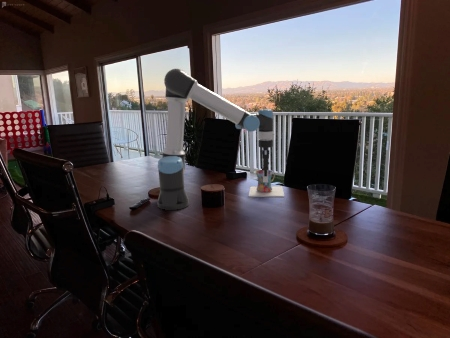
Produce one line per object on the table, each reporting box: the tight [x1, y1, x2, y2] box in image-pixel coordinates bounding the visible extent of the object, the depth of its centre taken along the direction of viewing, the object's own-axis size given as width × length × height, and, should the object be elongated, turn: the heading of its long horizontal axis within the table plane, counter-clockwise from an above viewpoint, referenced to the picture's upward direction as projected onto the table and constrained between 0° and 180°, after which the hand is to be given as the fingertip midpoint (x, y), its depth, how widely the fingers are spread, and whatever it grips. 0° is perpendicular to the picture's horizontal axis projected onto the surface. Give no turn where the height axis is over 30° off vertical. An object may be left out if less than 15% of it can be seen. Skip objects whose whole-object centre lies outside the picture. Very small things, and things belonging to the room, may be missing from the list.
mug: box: [255, 169, 276, 192], centre depth 173 cm, size 12×9×11 cm
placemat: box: [248, 185, 285, 198], centre depth 173 cm, size 18×18×1 cm
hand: (265, 179), depth 171 cm, fingers open, 13 cm apart
